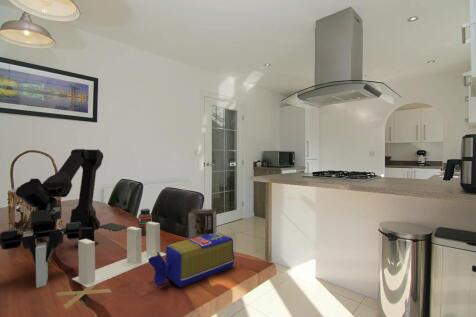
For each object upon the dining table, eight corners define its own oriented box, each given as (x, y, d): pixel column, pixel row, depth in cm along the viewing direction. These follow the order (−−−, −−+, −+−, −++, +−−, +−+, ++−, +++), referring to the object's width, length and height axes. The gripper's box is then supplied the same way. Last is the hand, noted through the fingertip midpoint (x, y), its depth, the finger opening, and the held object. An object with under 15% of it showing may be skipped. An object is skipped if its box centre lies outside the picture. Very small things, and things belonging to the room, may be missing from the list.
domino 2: (87, 283, 68) (87, 243, 68) (78, 279, 71) (78, 240, 71) (95, 280, 70) (94, 241, 70) (86, 276, 73) (85, 238, 73)
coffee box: (217, 252, 92) (217, 208, 92) (214, 259, 86) (213, 212, 86) (193, 251, 93) (193, 208, 93) (188, 258, 87) (187, 212, 87)
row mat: (71, 281, 71) (71, 278, 71) (151, 251, 94) (150, 249, 94) (87, 290, 66) (87, 287, 66) (167, 256, 89) (167, 254, 89)
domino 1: (36, 289, 67) (35, 248, 67) (39, 281, 71) (38, 243, 71) (45, 287, 68) (45, 247, 68) (47, 279, 72) (47, 241, 72)
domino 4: (155, 256, 87) (155, 224, 87) (146, 253, 90) (146, 222, 90) (160, 254, 89) (159, 223, 89) (151, 251, 92) (150, 221, 92)
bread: (237, 268, 79) (237, 235, 79) (163, 297, 63) (163, 257, 63) (218, 258, 87) (218, 229, 87) (148, 282, 71) (147, 246, 71)
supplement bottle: (139, 236, 112) (138, 211, 112) (137, 233, 117) (137, 208, 117) (153, 234, 114) (152, 209, 114) (151, 231, 120) (150, 207, 120)
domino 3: (136, 264, 81) (135, 230, 81) (127, 260, 84) (126, 227, 84) (141, 261, 83) (141, 228, 83) (132, 258, 85) (132, 226, 85)
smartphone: (115, 230, 120) (97, 226, 127) (115, 232, 120) (97, 227, 127) (129, 227, 126) (111, 222, 134) (129, 228, 126) (111, 224, 134)
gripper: (-1, 201, 68) (-14, 256, 58) (80, 195, 77) (81, 241, 68) (7, 224, 74) (-3, 276, 65) (81, 216, 84) (81, 260, 75)
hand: (41, 262), depth 68 cm, fingers closed on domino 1, 2 cm apart
